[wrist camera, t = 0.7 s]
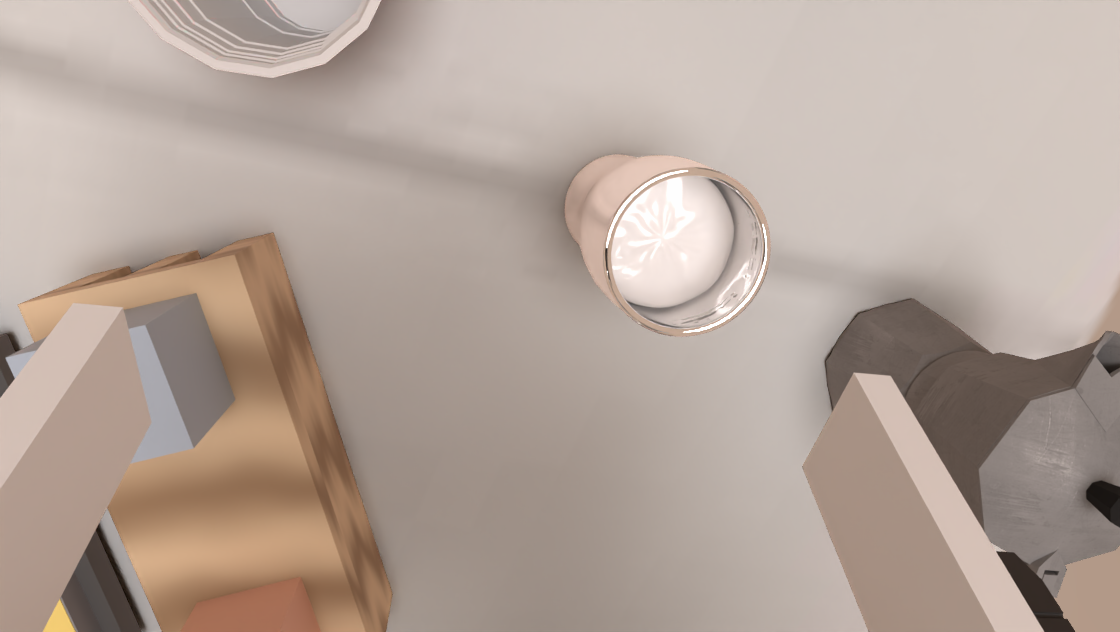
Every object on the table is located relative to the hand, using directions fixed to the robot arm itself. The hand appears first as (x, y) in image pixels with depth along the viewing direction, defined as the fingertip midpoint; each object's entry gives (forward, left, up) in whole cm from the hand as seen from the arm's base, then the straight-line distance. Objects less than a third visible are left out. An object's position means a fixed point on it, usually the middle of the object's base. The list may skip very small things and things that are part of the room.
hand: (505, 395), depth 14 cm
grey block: (-3, +17, -22) cm, 28 cm away
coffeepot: (-17, -22, -29) cm, 40 cm away
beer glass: (-2, -7, -29) cm, 30 cm away
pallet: (-11, +17, -29) cm, 35 cm away
